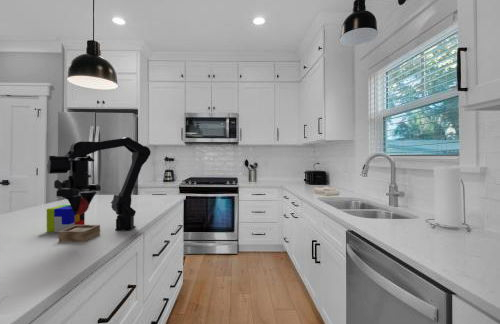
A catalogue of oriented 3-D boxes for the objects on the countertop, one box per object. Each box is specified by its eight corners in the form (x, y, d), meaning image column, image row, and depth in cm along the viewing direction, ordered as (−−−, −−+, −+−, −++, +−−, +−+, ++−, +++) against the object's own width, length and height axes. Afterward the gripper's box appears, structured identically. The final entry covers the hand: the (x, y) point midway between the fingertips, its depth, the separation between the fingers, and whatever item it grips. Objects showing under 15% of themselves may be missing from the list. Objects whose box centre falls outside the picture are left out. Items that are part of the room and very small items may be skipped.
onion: (92, 214, 105) (92, 194, 105) (78, 217, 100) (78, 196, 100) (82, 213, 107) (81, 194, 107) (68, 216, 102) (68, 196, 102)
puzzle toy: (69, 232, 112) (69, 209, 111) (46, 231, 112) (46, 209, 112) (84, 226, 122) (84, 205, 121) (63, 225, 122) (63, 204, 122)
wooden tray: (99, 233, 109) (99, 225, 109) (84, 241, 99) (84, 231, 99) (76, 233, 109) (76, 224, 109) (58, 241, 99) (58, 231, 99)
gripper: (76, 171, 113) (76, 206, 113) (41, 174, 94) (42, 216, 94) (101, 171, 113) (101, 206, 113) (71, 174, 94) (72, 216, 94)
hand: (80, 211), depth 104 cm, fingers closed on onion, 6 cm apart
